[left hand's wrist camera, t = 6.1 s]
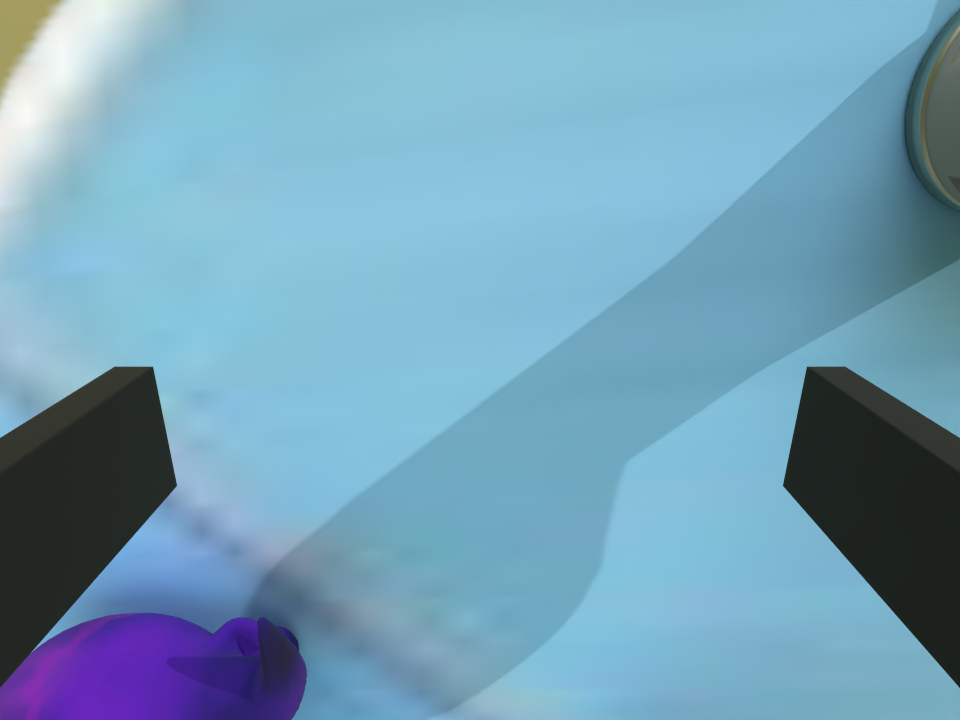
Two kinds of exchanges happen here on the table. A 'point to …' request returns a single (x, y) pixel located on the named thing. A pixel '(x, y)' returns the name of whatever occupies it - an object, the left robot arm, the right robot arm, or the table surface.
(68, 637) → the toy
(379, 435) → the table surface
